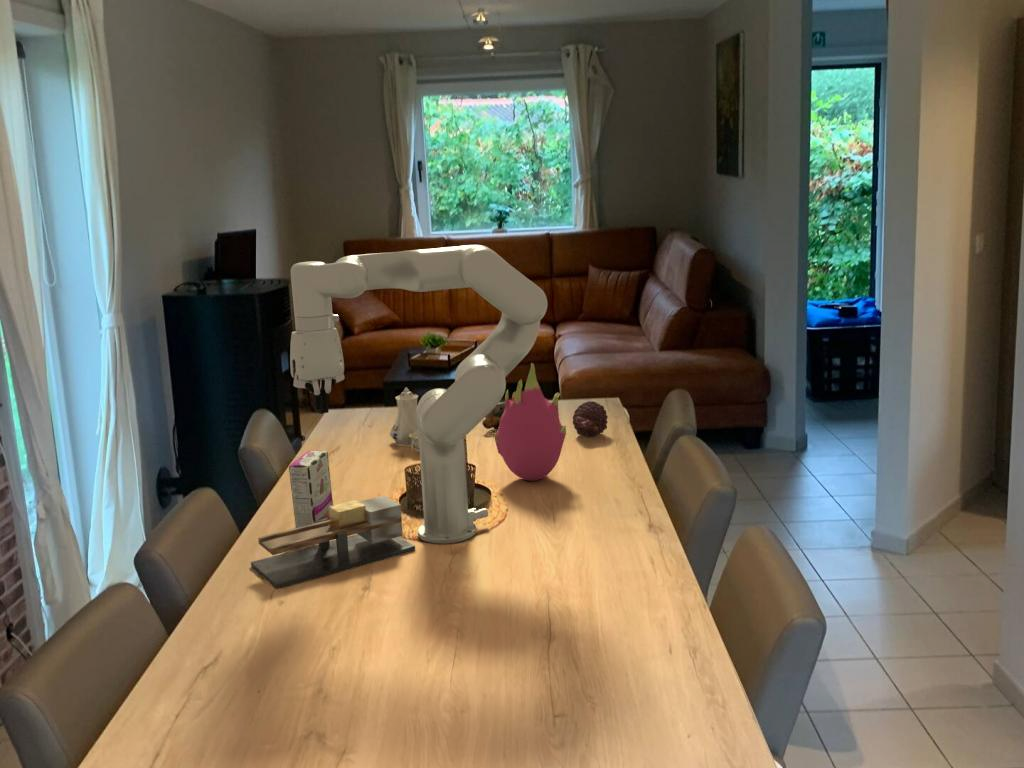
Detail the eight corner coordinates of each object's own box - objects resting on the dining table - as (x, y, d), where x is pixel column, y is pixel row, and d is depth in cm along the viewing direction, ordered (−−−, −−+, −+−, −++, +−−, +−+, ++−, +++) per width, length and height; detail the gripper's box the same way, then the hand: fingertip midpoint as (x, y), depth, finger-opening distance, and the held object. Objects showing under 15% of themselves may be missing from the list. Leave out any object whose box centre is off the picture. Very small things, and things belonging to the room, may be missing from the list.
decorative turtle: (534, 425, 300) (533, 399, 298) (499, 440, 290) (497, 414, 288) (510, 419, 307) (509, 394, 304) (475, 433, 297) (473, 407, 294)
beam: (386, 525, 217) (384, 495, 215) (402, 535, 210) (400, 504, 209) (260, 558, 202) (257, 525, 200) (274, 569, 195) (271, 536, 194)
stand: (384, 531, 220) (382, 501, 219) (415, 550, 209) (413, 518, 207) (251, 566, 204) (247, 534, 203) (276, 589, 193) (273, 555, 191)
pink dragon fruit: (571, 471, 256) (567, 355, 249) (564, 489, 243) (560, 366, 236) (502, 470, 259) (496, 355, 252) (491, 487, 246) (485, 367, 239)
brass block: (357, 518, 211) (355, 500, 210) (366, 524, 207) (365, 505, 206) (330, 524, 208) (329, 506, 207) (339, 531, 204) (338, 512, 203)
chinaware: (441, 462, 274) (444, 402, 270) (380, 457, 275) (382, 398, 271) (452, 434, 301) (455, 379, 298) (397, 429, 302) (399, 375, 298)
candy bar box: (314, 518, 230) (308, 449, 226) (335, 519, 229) (329, 450, 225) (294, 537, 219) (287, 464, 216) (316, 538, 218) (309, 465, 215)
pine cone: (572, 428, 296) (571, 394, 294) (606, 426, 295) (605, 393, 293) (573, 445, 279) (572, 410, 276) (609, 444, 278) (609, 408, 276)
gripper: (340, 317, 210) (347, 402, 214) (272, 326, 202) (280, 415, 206) (356, 321, 204) (363, 409, 208) (286, 330, 196) (294, 422, 200)
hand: (321, 411), depth 207 cm, fingers closed
